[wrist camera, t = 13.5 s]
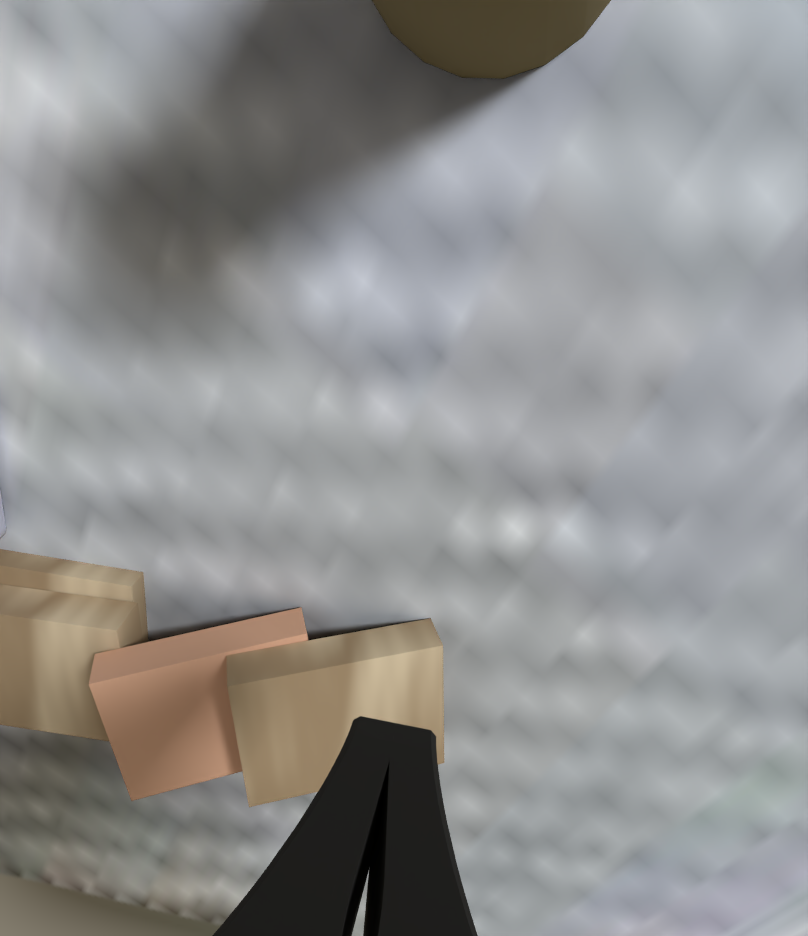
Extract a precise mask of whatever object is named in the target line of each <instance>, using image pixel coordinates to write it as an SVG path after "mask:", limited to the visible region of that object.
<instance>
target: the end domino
mask: <svg viewBox="0 0 808 936" xmlns="http://www.w3.org/2000/svg"><path fill="white" fill-rule="evenodd" d="M226 660H227V688H228V694H229V699H230V705H231V710H232V716H233V721H234V727H235V732H236V738H237V743H238V749H239V754H240V760H241V765H242V770H243V776H244V781H245V787H246V792H247V798H248V803H249V807H252V806H256V805H260V804H265V803H269V802H274V801H278V800H283V799H287V798H291V797H296V796H300V795H305V794H309V793H314V792H318V791H319V789H320V788H321V786H322V784H323V783H324V781H325V779H326V777H327V776H328V774H329V772H330V770H331V768H332V766H333V765H334V763H335V761H336V759H337V757H338V755H339V753H340V751H341V749H342V747H343V745H344V742H345V740H346V738H347V736H348V733H349V731H350V728H351V725H352V722H353V720H354V719H356V718H358V717H360V716H363V717H368V718H373V719H378V720H383V721H388V722H393V723H398V724H403V725H408V726H413V727H418V728H423V729H428V730H431V731H432V732H433V733H434V734H435V736H436V750H437V763H438V764H442V763H444V700H443V645H442V642H441V640H440V638H439V636H438V634H437V632H436V629H435V627H434V625H433V623H432V621H431V618H430V619H424V620H419V621H413V622H408V623H402V624H397V625H391V626H386V627H380V628H375V629H369V630H363V631H358V632H352V633H347V634H341V635H336V636H330V637H325V638H319V639H314V640H308V641H303V642H297V643H292V644H286V645H281V646H275V647H270V648H264V649H259V650H253V651H248V652H242V653H237V654H231V655H226Z"/></svg>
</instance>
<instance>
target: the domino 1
mask: <svg viewBox="0 0 808 936" xmlns="http://www.w3.org/2000/svg"><path fill="white" fill-rule="evenodd" d="M0 584H2V585H9V586H17V587H24V588H32V589H39V590H46V591H54V592H61V593H69V594H76V595H83V596H91V597H98V598H106V599H113V600H121V601H128V602H135V603H138V607H139V614H140V621H141V628H142V636H143V643H146V642H148V629H147V616H146V603H145V590H144V577H143V572H138V571H132V570H126V569H120V568H114V567H108V566H101V565H95V564H89V563H83V562H77V561H70V560H64V559H58V558H52V557H46V556H39V555H33V554H27V553H21V552H15V551H9V550H2V549H0Z"/></svg>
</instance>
